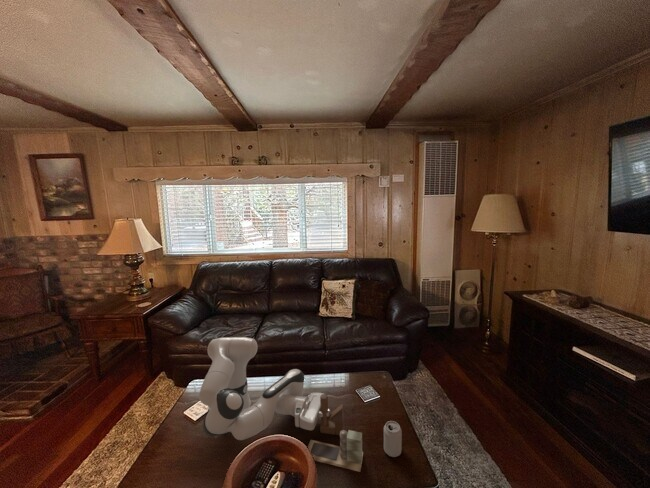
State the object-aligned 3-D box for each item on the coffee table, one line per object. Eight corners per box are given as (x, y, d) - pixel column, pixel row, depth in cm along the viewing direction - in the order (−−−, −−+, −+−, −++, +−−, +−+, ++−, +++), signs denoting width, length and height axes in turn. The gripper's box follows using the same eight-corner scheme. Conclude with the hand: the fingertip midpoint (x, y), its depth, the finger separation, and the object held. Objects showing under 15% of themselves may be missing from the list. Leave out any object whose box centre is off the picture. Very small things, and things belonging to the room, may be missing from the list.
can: (381, 443, 119) (381, 419, 118) (397, 442, 120) (398, 418, 118) (386, 459, 112) (386, 434, 110) (404, 457, 113) (404, 432, 111)
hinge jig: (304, 457, 114) (303, 432, 112) (310, 441, 121) (309, 417, 120) (360, 472, 107) (360, 445, 105) (363, 454, 115) (363, 429, 113)
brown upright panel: (342, 436, 124) (342, 401, 121) (320, 433, 126) (319, 398, 123) (343, 429, 128) (343, 395, 125) (321, 427, 129) (320, 393, 127)
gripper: (309, 398, 140) (335, 403, 136) (294, 429, 120) (323, 436, 117) (309, 387, 139) (334, 391, 135) (293, 417, 120) (323, 423, 116)
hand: (329, 412), depth 126 cm, fingers closed
